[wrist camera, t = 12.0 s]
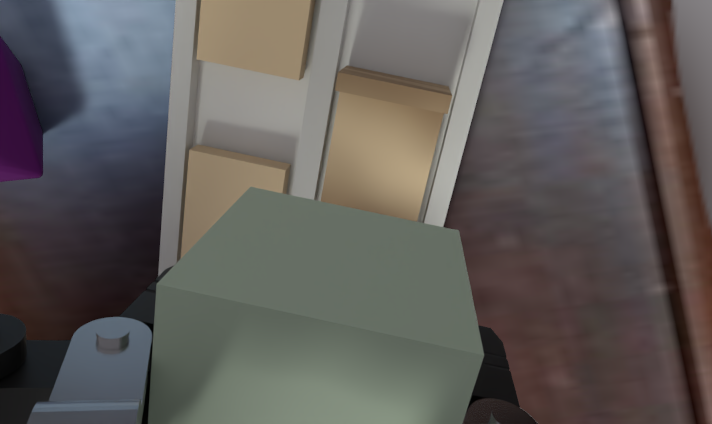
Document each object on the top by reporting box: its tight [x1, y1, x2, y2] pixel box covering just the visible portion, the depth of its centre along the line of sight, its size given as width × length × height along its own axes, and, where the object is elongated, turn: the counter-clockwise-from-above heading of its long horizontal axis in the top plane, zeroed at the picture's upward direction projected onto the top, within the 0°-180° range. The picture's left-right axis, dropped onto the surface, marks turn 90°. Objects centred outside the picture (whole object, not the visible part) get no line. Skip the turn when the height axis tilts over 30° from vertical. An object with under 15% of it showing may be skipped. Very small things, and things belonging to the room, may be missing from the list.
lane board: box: [158, 0, 504, 276], centre depth 28 cm, size 25×15×2 cm, turn 169°
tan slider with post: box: [321, 65, 452, 222], centre depth 25 cm, size 16×5×8 cm, turn 169°
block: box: [148, 187, 484, 424], centre depth 11 cm, size 5×5×5 cm
